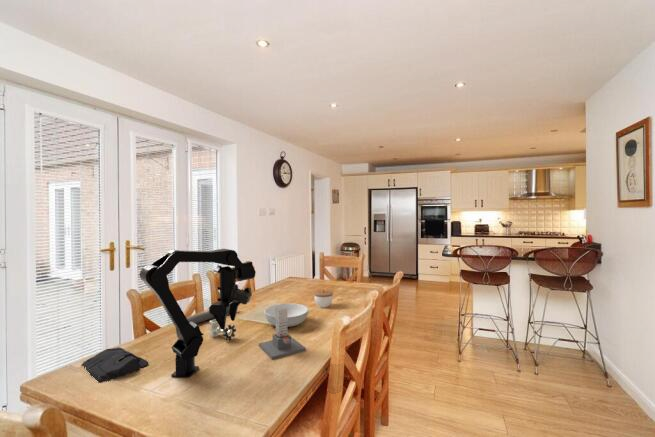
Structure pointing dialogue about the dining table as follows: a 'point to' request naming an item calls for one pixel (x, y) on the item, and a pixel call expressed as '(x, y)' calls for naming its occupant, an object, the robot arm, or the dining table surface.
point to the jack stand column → (281, 322)
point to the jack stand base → (281, 346)
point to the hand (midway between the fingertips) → (228, 324)
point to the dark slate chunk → (113, 364)
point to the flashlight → (200, 317)
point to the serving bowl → (294, 313)
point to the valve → (216, 330)
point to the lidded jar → (323, 298)
